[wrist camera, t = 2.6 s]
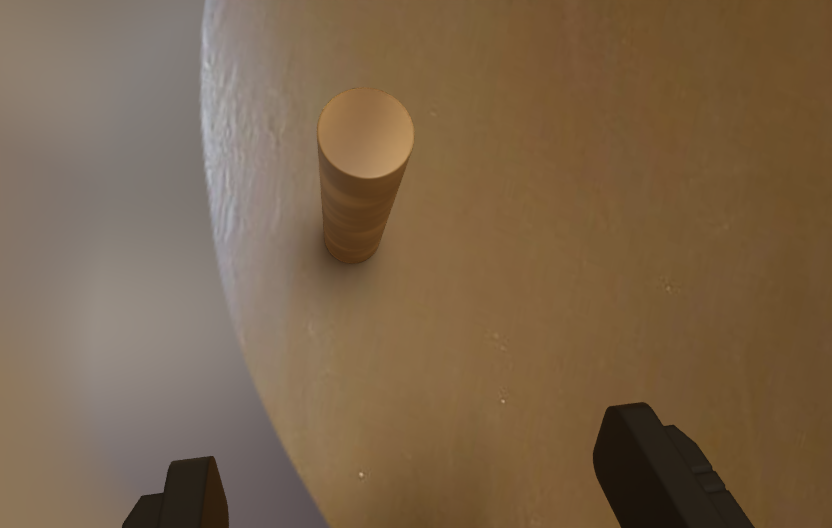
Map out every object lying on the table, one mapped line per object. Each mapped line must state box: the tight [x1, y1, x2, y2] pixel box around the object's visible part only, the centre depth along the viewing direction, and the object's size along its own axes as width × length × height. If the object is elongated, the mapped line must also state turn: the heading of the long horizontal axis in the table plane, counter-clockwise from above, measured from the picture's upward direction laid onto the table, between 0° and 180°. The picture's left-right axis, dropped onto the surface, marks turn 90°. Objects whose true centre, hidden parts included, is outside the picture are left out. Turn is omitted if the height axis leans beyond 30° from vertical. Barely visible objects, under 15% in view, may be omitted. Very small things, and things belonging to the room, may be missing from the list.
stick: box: [317, 88, 414, 263], centre depth 25 cm, size 3×3×14 cm
